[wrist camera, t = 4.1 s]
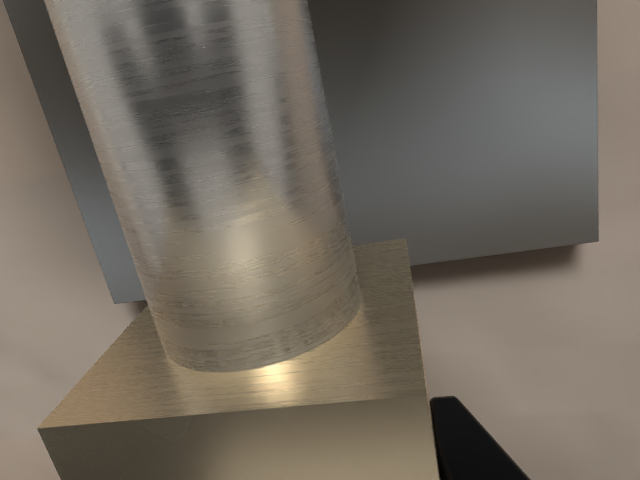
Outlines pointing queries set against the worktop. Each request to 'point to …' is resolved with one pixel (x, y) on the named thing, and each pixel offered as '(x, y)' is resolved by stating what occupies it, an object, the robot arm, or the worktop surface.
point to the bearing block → (407, 125)
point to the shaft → (235, 261)
